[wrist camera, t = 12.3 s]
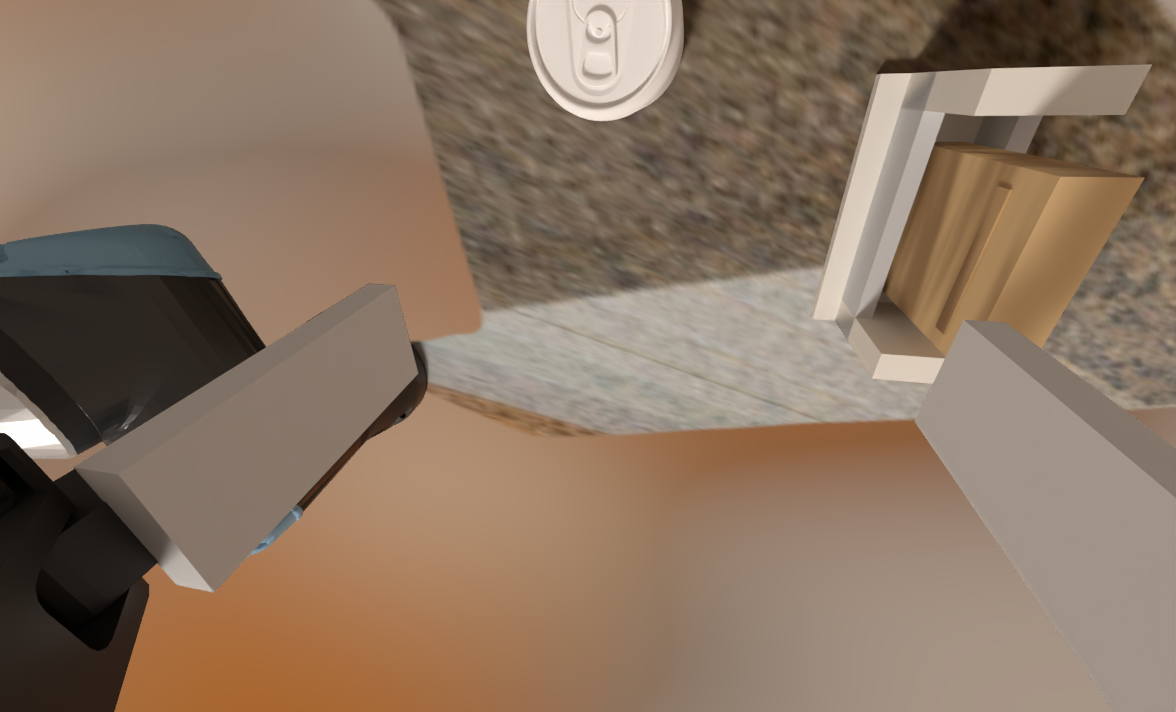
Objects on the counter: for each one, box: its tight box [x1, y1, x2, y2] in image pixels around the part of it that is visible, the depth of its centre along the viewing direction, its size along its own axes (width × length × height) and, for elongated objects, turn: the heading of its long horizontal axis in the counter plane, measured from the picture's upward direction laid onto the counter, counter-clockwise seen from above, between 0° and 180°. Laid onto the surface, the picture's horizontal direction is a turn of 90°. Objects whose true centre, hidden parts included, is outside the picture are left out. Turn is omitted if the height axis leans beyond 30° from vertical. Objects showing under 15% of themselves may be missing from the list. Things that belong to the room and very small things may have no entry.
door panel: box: [882, 142, 1144, 357], centre depth 27 cm, size 3×10×14 cm, turn 1°
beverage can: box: [527, 0, 684, 121], centre depth 26 cm, size 8×8×12 cm
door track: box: [811, 65, 1152, 384], centre depth 29 cm, size 10×18×10 cm, turn 1°
